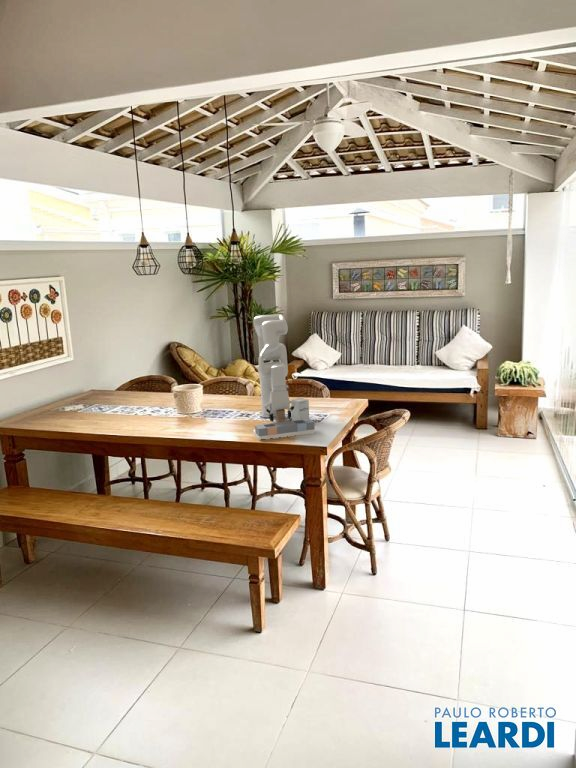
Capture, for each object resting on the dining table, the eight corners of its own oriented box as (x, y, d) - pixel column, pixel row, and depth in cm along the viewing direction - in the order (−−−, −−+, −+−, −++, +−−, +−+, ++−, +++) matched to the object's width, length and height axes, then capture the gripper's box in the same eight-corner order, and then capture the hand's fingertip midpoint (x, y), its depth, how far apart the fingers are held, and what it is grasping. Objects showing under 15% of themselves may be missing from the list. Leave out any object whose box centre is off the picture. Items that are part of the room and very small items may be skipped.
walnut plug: (276, 427, 321) (275, 409, 319) (283, 426, 322) (282, 408, 320) (278, 428, 317) (277, 410, 315) (285, 428, 318) (284, 409, 316)
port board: (252, 433, 318) (252, 422, 317) (306, 426, 326) (305, 416, 325) (259, 440, 304) (258, 429, 303) (315, 433, 312) (314, 422, 311)
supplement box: (299, 423, 334) (298, 401, 331) (291, 421, 339) (290, 399, 337) (309, 421, 338) (308, 399, 335) (301, 418, 344) (300, 397, 341)
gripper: (292, 385, 321) (294, 416, 324) (261, 388, 316) (263, 420, 320) (296, 387, 314) (298, 419, 317) (264, 391, 309) (266, 423, 312)
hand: (280, 419), depth 318 cm, fingers open, 9 cm apart
